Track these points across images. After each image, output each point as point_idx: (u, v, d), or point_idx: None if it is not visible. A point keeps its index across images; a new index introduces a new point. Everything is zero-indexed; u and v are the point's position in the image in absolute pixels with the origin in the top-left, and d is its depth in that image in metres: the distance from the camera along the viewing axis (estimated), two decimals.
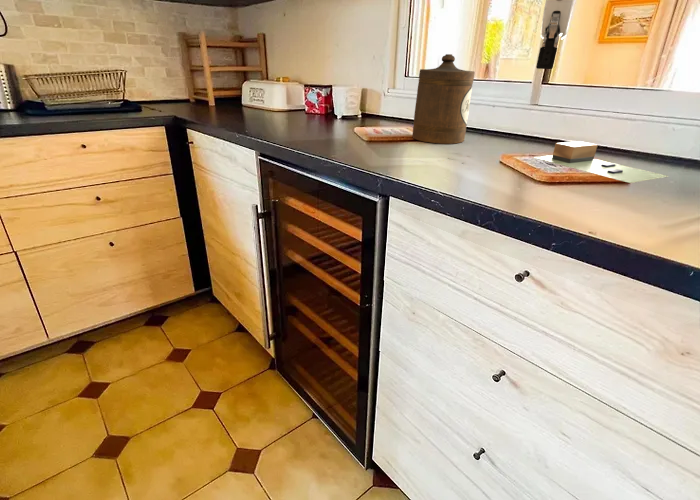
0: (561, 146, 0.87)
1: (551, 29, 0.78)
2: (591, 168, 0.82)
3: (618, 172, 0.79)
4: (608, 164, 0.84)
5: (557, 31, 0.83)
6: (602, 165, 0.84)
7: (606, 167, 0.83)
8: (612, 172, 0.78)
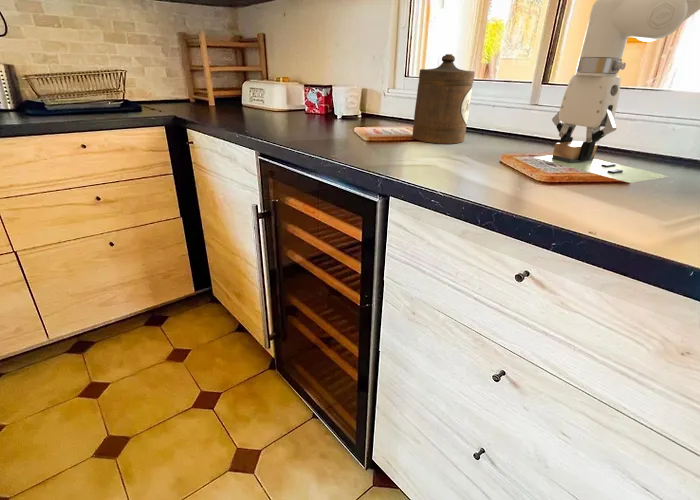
0: (561, 146, 0.87)
1: (608, 132, 0.81)
2: (591, 168, 0.82)
3: (618, 172, 0.79)
4: (608, 164, 0.84)
5: None
6: (602, 165, 0.84)
7: (606, 167, 0.83)
8: (612, 172, 0.78)
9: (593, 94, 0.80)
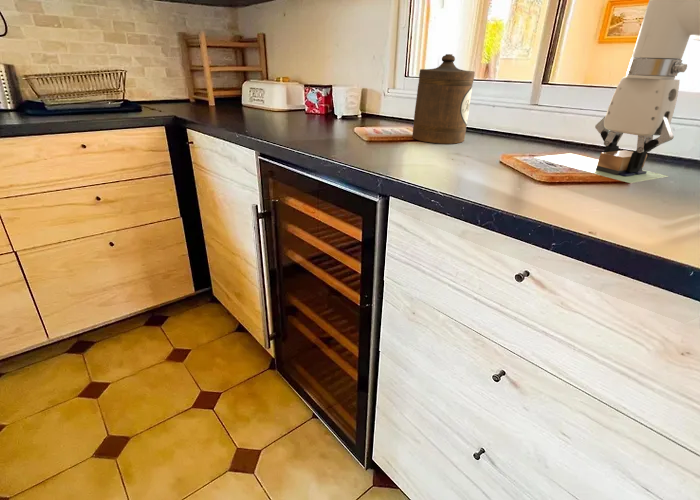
0: (607, 156, 0.78)
1: (663, 142, 0.72)
2: (591, 168, 0.82)
3: (630, 175, 0.77)
4: (639, 171, 0.79)
5: None
6: (633, 172, 0.79)
7: None
8: (624, 175, 0.76)
9: (648, 99, 0.72)
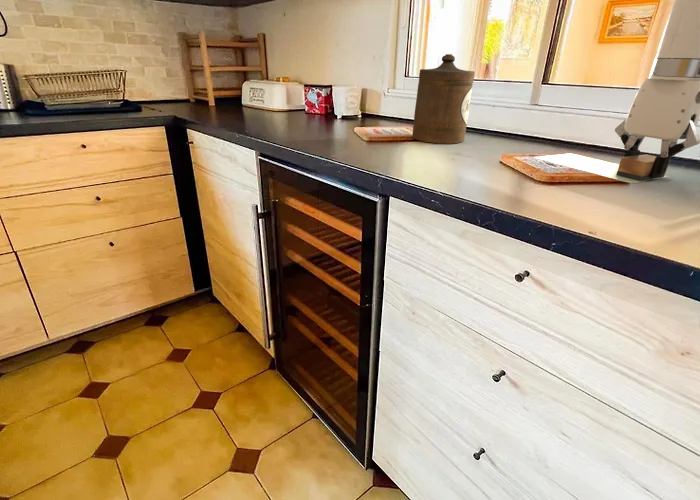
0: (629, 161, 0.75)
1: (689, 146, 0.69)
2: (591, 168, 0.82)
3: None
4: None
5: None
6: None
7: (606, 167, 0.83)
8: None
9: (673, 101, 0.68)
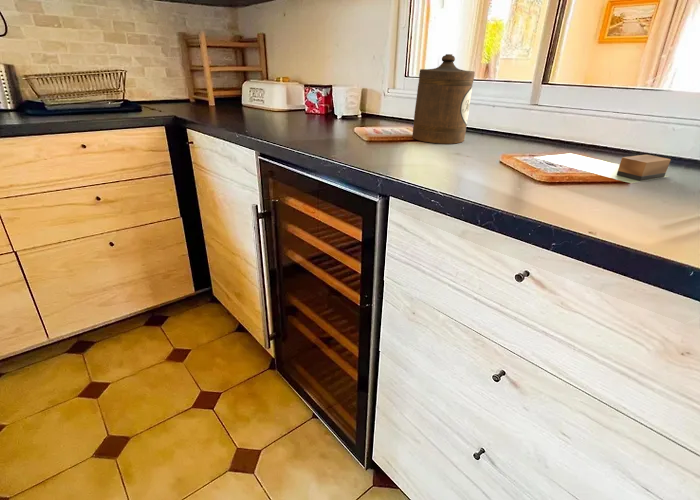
0: (629, 161, 0.75)
1: None
2: (591, 168, 0.82)
3: None
4: None
5: None
6: None
7: (606, 167, 0.83)
8: None
9: None
